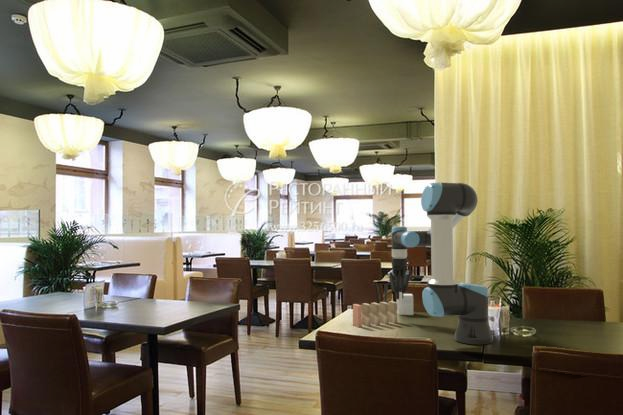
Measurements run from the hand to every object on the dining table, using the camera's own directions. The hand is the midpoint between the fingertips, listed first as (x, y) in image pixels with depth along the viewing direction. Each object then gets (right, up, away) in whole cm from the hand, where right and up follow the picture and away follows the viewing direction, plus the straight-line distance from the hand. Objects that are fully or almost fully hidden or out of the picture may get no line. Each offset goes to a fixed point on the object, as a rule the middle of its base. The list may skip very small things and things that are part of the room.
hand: (399, 305), depth 249 cm
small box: (+7, -9, +19) cm, 22 cm away
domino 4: (-8, -8, -4) cm, 12 cm away
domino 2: (-17, -8, -8) cm, 21 cm away
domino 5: (-4, -8, -2) cm, 9 cm away
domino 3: (-13, -8, -6) cm, 16 cm away
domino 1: (-22, -8, -10) cm, 25 cm away
